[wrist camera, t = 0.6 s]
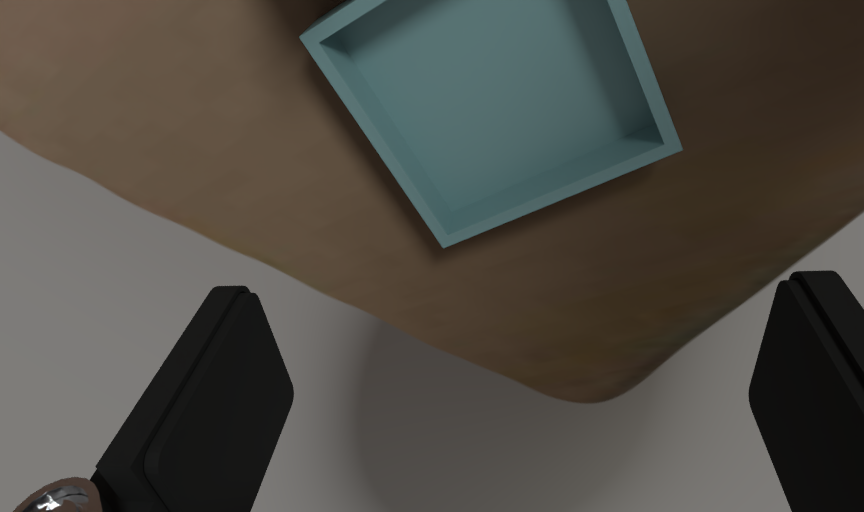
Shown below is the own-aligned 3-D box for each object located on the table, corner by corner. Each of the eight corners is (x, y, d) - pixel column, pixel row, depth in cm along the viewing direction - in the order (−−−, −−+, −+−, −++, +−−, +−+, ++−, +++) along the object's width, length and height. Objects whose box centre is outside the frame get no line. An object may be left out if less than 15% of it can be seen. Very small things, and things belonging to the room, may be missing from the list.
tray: (567, -144, 29) (572, -140, 26) (670, 124, 36) (683, 149, 34) (316, 19, 35) (298, 37, 32) (448, 220, 43) (443, 248, 40)
